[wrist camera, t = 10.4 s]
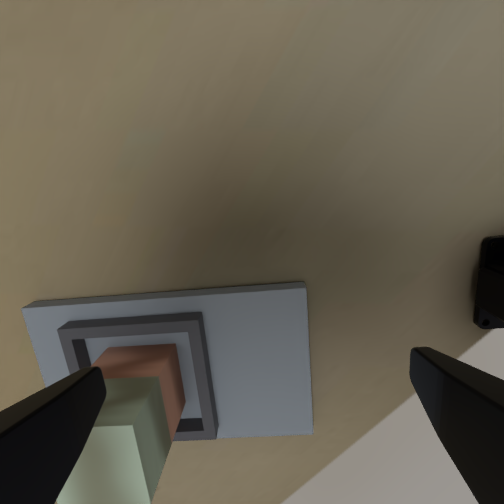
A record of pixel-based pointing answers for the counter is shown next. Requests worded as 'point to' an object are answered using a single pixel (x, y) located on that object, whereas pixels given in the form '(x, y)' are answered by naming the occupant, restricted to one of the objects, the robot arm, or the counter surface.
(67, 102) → the counter surface
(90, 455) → the brick stack
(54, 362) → the nest board
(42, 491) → the robot arm
